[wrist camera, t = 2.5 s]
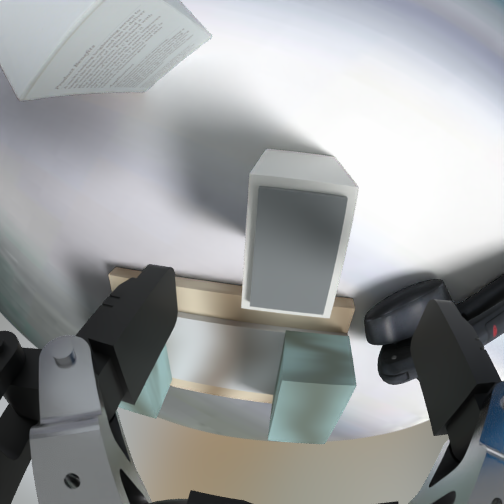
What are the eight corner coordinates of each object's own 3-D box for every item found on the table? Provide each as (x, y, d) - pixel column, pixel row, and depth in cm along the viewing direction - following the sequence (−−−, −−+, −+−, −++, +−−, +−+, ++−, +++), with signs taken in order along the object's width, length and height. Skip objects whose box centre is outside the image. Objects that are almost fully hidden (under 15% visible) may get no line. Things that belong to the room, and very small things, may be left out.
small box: (89, 21, 14) (-31, 5, 4) (149, -33, 12) (48, -94, 2) (145, 95, 16) (15, 107, 7) (216, 38, 14) (124, -25, 5)
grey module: (258, 241, 20) (240, 312, 13) (266, 148, 17) (247, 175, 10) (320, 249, 19) (329, 322, 13) (334, 156, 17) (360, 189, 10)
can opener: (371, 358, 23) (381, 410, 18) (355, 297, 21) (368, 352, 16) (535, 291, 18) (564, 328, 13) (540, 225, 16) (580, 257, 11)
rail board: (139, 368, 28) (114, 415, 22) (115, 266, 22) (71, 314, 17) (318, 397, 26) (318, 453, 21) (352, 298, 21) (366, 363, 15)
